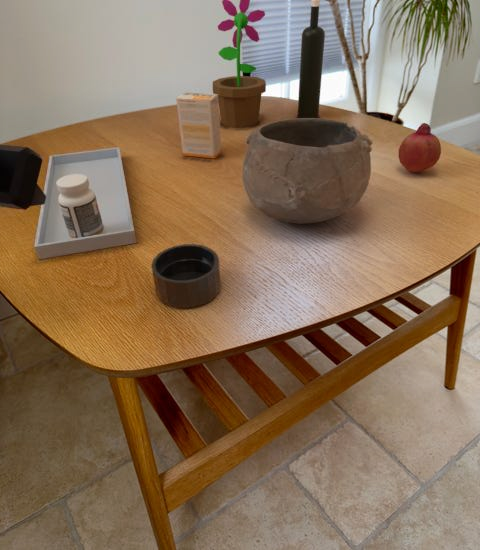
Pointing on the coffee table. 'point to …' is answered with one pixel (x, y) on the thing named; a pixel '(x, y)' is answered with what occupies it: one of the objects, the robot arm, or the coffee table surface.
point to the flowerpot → (239, 89)
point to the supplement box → (199, 124)
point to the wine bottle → (311, 66)
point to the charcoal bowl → (186, 275)
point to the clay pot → (306, 169)
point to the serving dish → (110, 198)
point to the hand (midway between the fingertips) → (13, 196)
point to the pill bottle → (79, 206)
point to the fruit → (420, 150)
